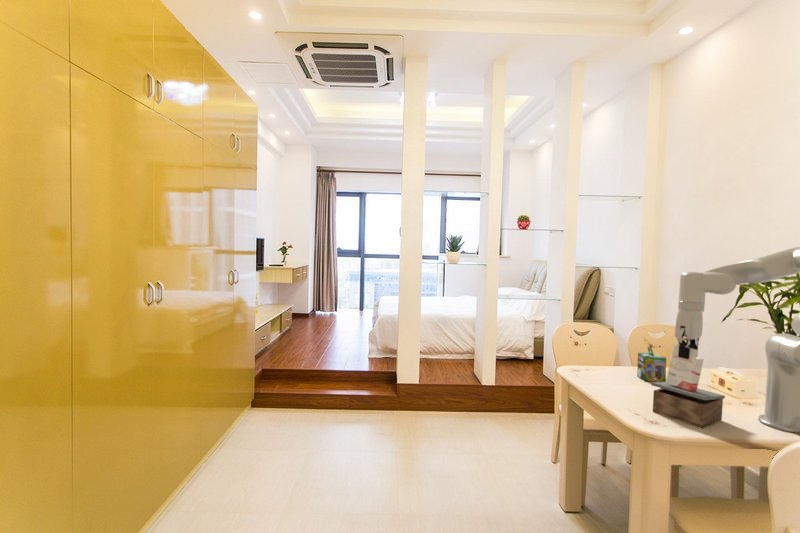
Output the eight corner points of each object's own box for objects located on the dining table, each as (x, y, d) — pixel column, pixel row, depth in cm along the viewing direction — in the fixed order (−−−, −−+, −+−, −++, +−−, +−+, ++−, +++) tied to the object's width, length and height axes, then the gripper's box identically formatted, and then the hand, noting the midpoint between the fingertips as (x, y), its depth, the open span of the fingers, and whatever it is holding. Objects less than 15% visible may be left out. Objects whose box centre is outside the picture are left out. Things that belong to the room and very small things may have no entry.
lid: (724, 398, 142) (724, 395, 142) (704, 400, 134) (705, 397, 134) (671, 384, 157) (672, 381, 157) (651, 385, 149) (651, 382, 149)
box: (721, 420, 143) (722, 398, 143) (702, 428, 136) (703, 405, 135) (672, 405, 157) (673, 384, 156) (652, 411, 149) (653, 390, 149)
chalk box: (666, 383, 184) (667, 351, 183) (643, 381, 186) (645, 349, 185) (657, 377, 193) (659, 346, 192) (636, 375, 195) (637, 345, 194)
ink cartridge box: (697, 391, 143) (706, 351, 142) (689, 391, 141) (698, 350, 140) (672, 382, 151) (681, 343, 150) (664, 381, 149) (673, 343, 148)
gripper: (691, 304, 152) (687, 352, 153) (667, 306, 143) (664, 357, 144) (714, 307, 146) (711, 357, 146) (691, 309, 137) (687, 362, 138)
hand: (687, 356), depth 145 cm, fingers closed on ink cartridge box, 5 cm apart
